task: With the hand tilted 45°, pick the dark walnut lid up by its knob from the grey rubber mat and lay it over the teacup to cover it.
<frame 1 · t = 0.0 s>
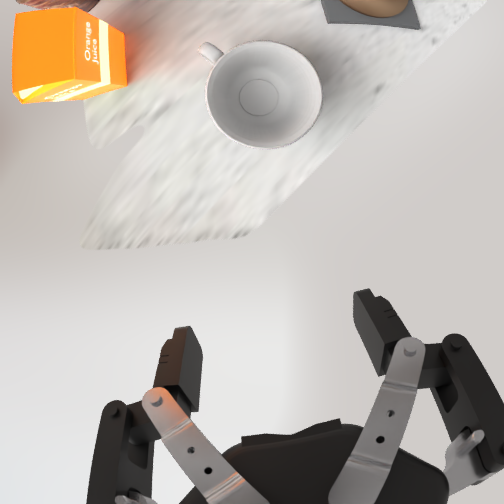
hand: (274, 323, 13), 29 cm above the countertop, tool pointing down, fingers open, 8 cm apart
orange juice: (102, 66, 29), on the countertop
teacup: (249, 91, 33), on the countertop
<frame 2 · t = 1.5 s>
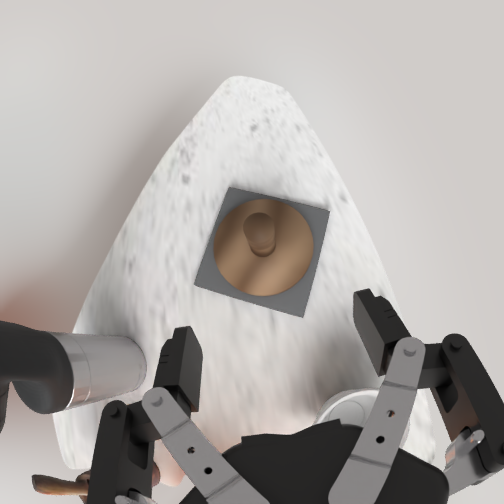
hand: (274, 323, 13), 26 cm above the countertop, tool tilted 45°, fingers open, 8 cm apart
rubber mat: (264, 249, 42), on the countertop
mortar and pestle: (132, 465, 34), on the countertop
walnut lid: (263, 247, 41), point 1 cm above the countertop, touching rubber mat
teacup: (334, 417, 34), on the countertop
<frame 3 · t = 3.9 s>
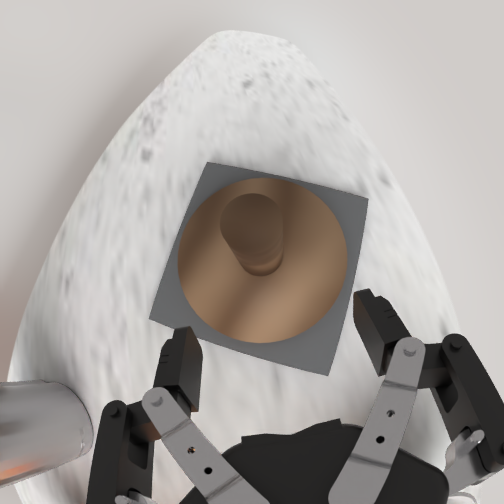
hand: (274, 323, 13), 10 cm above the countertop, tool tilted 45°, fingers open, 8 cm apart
rubber mat: (262, 260, 25), on the countertop
walnut lid: (261, 257, 24), point 1 cm above the countertop, touching rubber mat
teacup: (364, 502, 17), on the countertop
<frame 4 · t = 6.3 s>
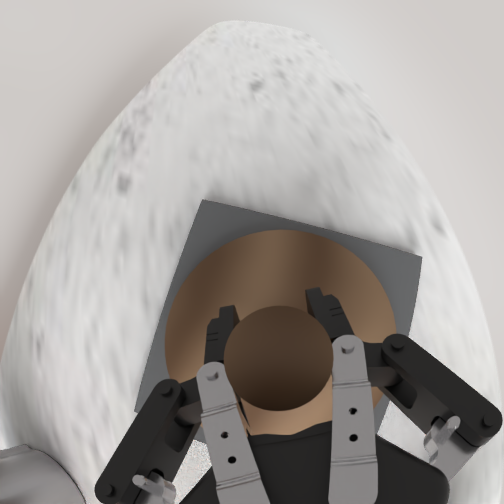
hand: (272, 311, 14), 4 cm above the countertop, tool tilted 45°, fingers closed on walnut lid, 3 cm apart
rubber mat: (280, 345, 17), on the countertop
walnut lid: (281, 346, 17), point 1 cm above the countertop, touching gripper, rubber mat
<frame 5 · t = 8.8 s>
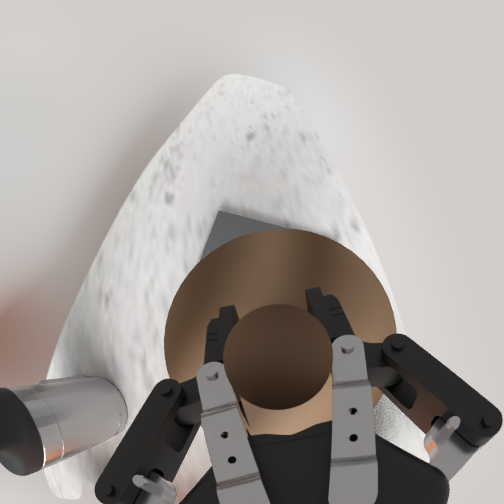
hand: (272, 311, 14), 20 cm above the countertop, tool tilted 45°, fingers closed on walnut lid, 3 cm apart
rubber mat: (259, 288, 35), on the countertop
walnut lid: (280, 345, 17), point 17 cm above the countertop, touching gripper
when the fingers open (15 cm above the countertop, at t = 11.5 s): walnut lid drops 1 cm, resting on teacup.
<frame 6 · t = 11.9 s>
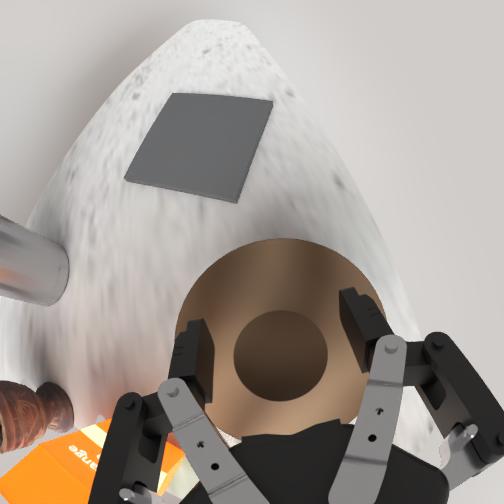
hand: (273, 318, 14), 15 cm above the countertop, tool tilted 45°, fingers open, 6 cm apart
orange juice: (144, 454, 25), on the countertop
rubber mat: (199, 139, 35), on the countertop
mortar and pestle: (50, 403, 28), on the countertop
walnut lid: (282, 345, 18), point 10 cm above the countertop, touching teacup
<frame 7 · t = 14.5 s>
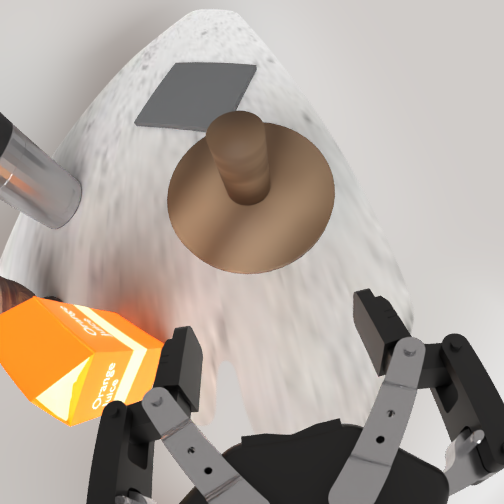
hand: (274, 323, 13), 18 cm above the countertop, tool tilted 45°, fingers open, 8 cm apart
orange juice: (130, 355, 31), on the countertop
rubber mat: (196, 94, 41), on the countertop
mortar and pestle: (47, 319, 34), on the countertop
walnut lid: (250, 192, 24), point 10 cm above the countertop, touching teacup
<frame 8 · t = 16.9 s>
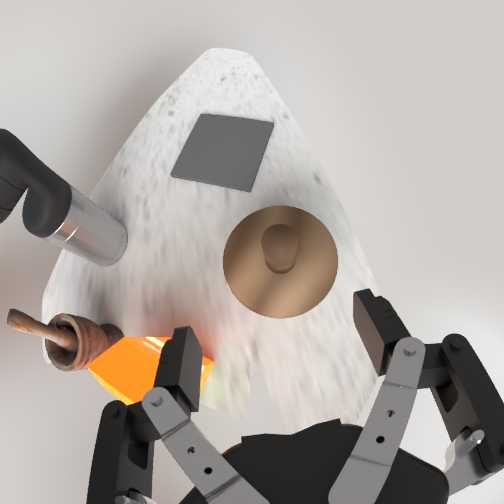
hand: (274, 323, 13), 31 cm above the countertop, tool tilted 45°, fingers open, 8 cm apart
orange juice: (182, 369, 43), on the countertop
rubber mat: (223, 149, 53), on the countertop
mortar and pestle: (103, 342, 45), on the countertop
walnut lid: (280, 261, 35), point 10 cm above the countertop, touching teacup
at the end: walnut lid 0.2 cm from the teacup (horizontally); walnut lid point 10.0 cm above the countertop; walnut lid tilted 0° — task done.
